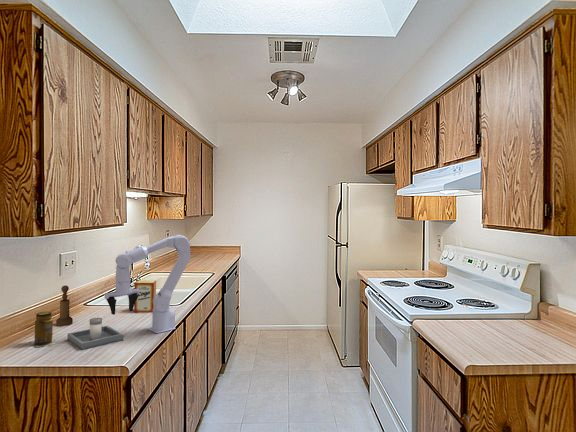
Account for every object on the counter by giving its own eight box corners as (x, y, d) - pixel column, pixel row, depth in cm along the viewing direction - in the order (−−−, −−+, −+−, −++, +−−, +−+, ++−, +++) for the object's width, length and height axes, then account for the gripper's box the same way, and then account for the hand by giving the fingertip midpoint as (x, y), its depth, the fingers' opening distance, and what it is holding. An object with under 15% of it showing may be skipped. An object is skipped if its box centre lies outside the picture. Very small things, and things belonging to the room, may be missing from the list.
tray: (107, 331, 169) (107, 325, 169) (123, 340, 158) (123, 334, 158) (67, 339, 157) (67, 333, 157) (81, 350, 147) (81, 343, 147)
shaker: (99, 335, 161) (99, 317, 161) (103, 338, 158) (103, 319, 158) (87, 338, 158) (87, 319, 158) (91, 340, 155) (92, 321, 155)
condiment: (50, 338, 158) (51, 309, 158) (57, 343, 153) (57, 314, 152) (30, 342, 153) (30, 312, 153) (35, 348, 147) (36, 317, 147)
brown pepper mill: (57, 327, 173) (58, 287, 172) (54, 323, 178) (55, 285, 177) (74, 324, 177) (74, 286, 177) (70, 321, 182) (71, 283, 182)
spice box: (155, 309, 207) (156, 279, 207) (153, 312, 201) (153, 282, 201) (137, 309, 206) (138, 279, 206) (134, 312, 200) (134, 282, 199)
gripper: (134, 278, 174) (134, 307, 174) (101, 282, 163) (101, 313, 163) (142, 280, 169) (141, 310, 169) (108, 284, 158) (108, 317, 158)
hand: (122, 312), depth 166 cm, fingers open, 7 cm apart
